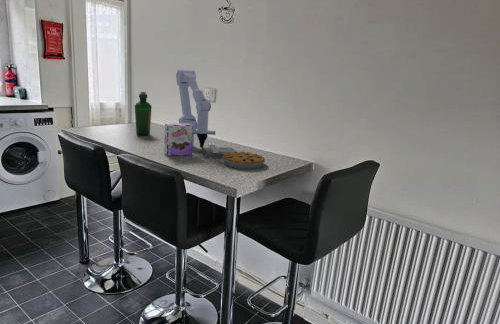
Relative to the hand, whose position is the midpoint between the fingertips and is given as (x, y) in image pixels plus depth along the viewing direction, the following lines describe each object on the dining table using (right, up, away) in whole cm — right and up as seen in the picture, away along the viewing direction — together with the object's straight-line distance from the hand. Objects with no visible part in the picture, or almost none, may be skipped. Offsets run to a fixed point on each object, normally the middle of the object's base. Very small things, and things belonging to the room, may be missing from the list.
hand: (201, 147), depth 190 cm
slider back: (+5, -1, +2) cm, 6 cm away
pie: (+23, -10, -16) cm, 30 cm away
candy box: (-11, -4, -8) cm, 15 cm away
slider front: (+8, -3, -6) cm, 11 cm away
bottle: (-44, +10, +36) cm, 57 cm away
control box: (+10, -4, 0) cm, 11 cm away
